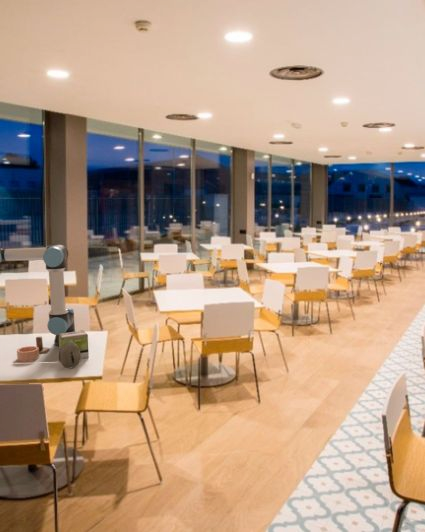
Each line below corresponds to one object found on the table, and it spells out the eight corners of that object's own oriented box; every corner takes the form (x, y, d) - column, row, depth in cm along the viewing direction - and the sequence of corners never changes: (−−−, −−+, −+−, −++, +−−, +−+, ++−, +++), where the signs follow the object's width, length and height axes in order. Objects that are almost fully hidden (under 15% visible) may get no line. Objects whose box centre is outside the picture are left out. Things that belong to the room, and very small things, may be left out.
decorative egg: (84, 368, 304) (82, 342, 302) (62, 372, 298) (61, 346, 296) (77, 362, 314) (76, 337, 312) (57, 366, 308) (55, 340, 306)
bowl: (41, 355, 330) (41, 345, 329) (35, 362, 318) (34, 352, 317) (21, 356, 329) (20, 346, 329) (14, 362, 318) (14, 352, 317)
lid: (51, 348, 342) (50, 334, 341) (46, 353, 331) (45, 339, 330) (33, 348, 342) (32, 335, 341) (28, 354, 331) (26, 340, 330)
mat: (51, 349, 342) (51, 348, 342) (46, 354, 331) (46, 353, 331) (33, 349, 342) (33, 348, 342) (28, 355, 331) (28, 354, 331)
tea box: (63, 362, 316) (61, 337, 314) (59, 357, 325) (58, 333, 323) (89, 357, 323) (87, 333, 321) (84, 353, 332) (83, 329, 330)
